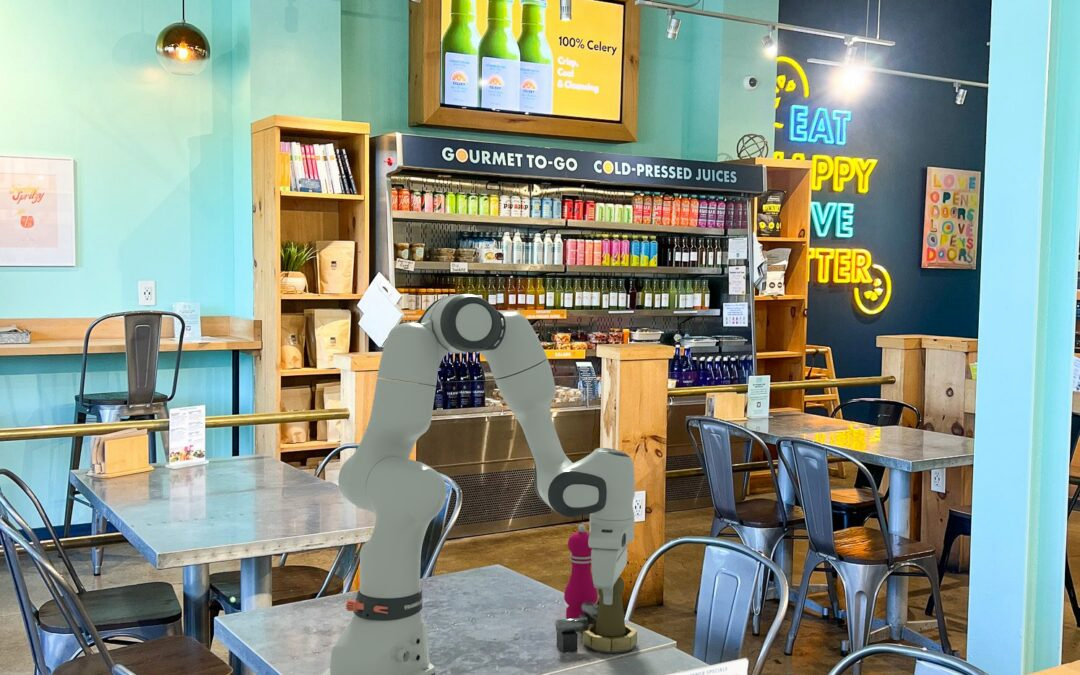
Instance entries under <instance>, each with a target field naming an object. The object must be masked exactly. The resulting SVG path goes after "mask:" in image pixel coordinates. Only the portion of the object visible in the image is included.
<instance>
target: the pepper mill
mask: <svg viewBox="0 0 1080 675" xmlns="http://www.w3.org/2000/svg"><path fill="white" fill-rule="evenodd" d="M588 540H589V532H587V527H586V525H584V524H580V525H578V527H577V531H576V532H575V531H574V532H573V533H572V534H570V536H569V537H568V541H567V547H568V550H569V552H571V553H570V554H569V557H570V558H569V561H570V562H571V573H570V577H569V579H568V582H567V584H566V586H565V590H564V593H563V595H564V596H563V599H564V601H565V603H566V604H567V605H568V606H566V608H565V609H566V610H565V616H566V619H573V618H579V614H581V613H584V612H583V611H582V604H583V603H584V602H585V601H591V602H592V603H594V604H595V605H596V603H597V601H598V589H597V588H595V587H594V584H593V577H592V560H591V551H592V548H590V547H589V546H588Z"/></svg>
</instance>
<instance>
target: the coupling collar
mask: <svg viewBox="0 0 1080 675" xmlns="http://www.w3.org/2000/svg"><path fill="white" fill-rule="evenodd" d="M595 630H596V623H595V624H590V625H589V629H588V631H583V633H582V643H583V647H584V648H585V649H586V650H588V651H590V652H593V653H597V654H603V655H620V654H621V655H622V654H628V653H631V652H633V651H635V649H637V643H638V630H636V629H635V628H633V627H632V626H631V625H629V624H625V630H626V633H625V634H623V635H621V636H603V635H599V634H597V633H596V632H595Z"/></svg>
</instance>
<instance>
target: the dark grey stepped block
mask: <svg viewBox="0 0 1080 675" xmlns="http://www.w3.org/2000/svg"><path fill="white" fill-rule="evenodd" d="M588 629H589V622H588V619H587V618H586V617H585V618H573V619H569V618H561V619H556V620H555V631H556V648H558V649H559V651H560V652H561V653H563V654H565V653H566V652H569V653H578V645H579V644H578V643H579V640H578V639H579V634H578V632H579V633H582V631H588ZM566 654H567V653H566Z"/></svg>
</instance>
